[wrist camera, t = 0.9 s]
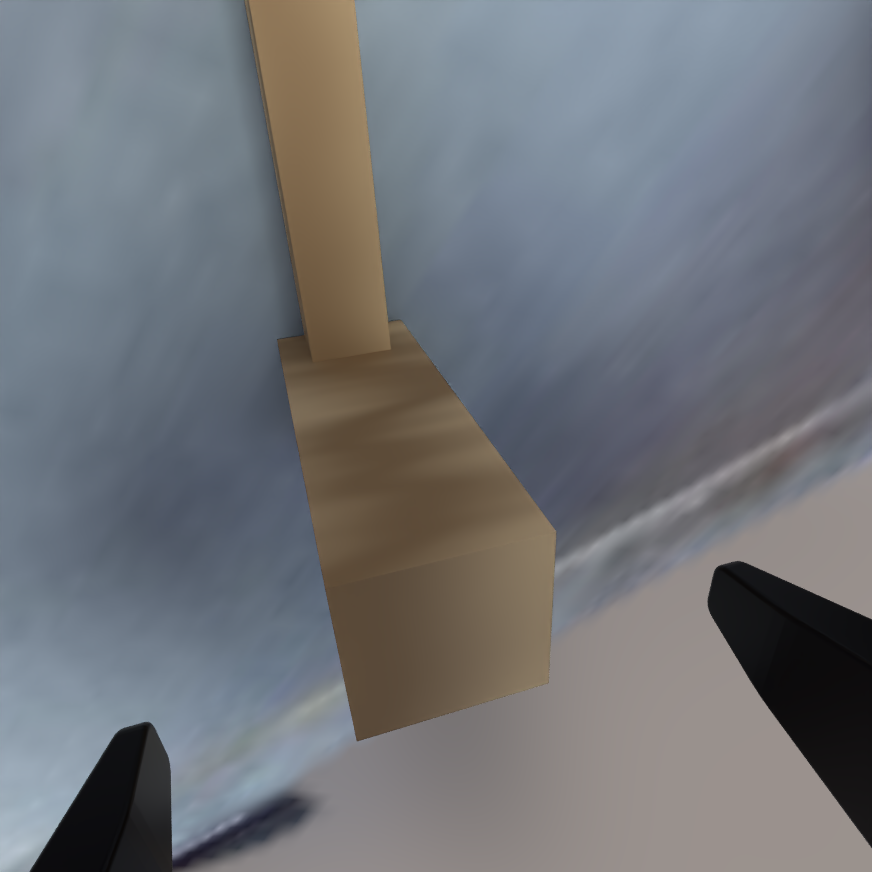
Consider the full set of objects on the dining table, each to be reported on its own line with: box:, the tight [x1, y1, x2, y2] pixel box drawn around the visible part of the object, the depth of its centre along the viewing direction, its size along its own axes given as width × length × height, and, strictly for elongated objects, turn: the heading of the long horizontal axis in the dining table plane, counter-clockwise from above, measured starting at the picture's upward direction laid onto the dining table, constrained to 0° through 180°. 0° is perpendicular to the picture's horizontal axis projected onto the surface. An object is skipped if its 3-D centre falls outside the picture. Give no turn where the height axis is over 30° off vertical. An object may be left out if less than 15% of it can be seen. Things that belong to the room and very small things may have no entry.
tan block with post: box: [244, 0, 556, 741], centre depth 11 cm, size 4×15×10 cm, turn 5°
